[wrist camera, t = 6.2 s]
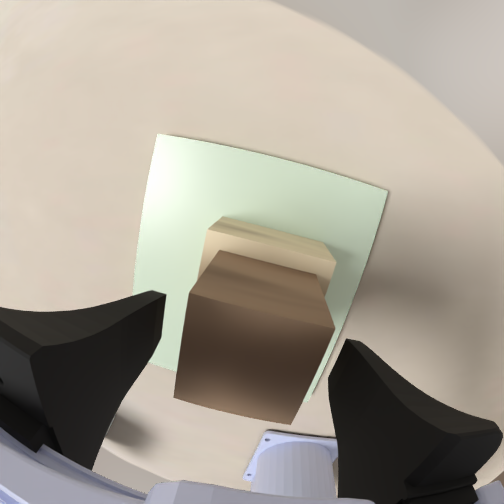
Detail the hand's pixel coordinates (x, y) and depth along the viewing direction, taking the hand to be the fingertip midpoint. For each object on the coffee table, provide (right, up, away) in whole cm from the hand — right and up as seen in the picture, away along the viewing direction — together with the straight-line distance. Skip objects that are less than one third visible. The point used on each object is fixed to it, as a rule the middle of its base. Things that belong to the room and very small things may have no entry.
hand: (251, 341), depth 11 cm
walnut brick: (0, +1, +3) cm, 3 cm away
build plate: (-1, +1, +8) cm, 8 cm away
